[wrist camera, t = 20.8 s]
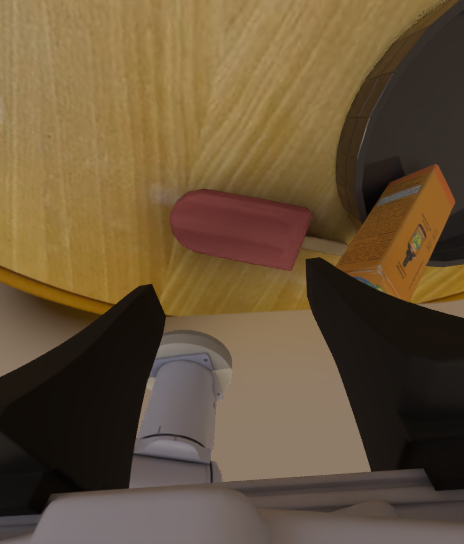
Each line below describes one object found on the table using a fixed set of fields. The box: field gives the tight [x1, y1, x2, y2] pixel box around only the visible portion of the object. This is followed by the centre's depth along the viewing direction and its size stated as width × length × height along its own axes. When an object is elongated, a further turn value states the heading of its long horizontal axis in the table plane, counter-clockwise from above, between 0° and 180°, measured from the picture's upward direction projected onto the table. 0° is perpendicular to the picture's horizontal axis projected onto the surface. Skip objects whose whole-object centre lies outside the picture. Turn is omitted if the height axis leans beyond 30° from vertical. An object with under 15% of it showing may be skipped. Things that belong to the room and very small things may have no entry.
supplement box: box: [336, 164, 455, 302], centre depth 16 cm, size 3×3×10 cm
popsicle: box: [170, 189, 348, 271], centre depth 20 cm, size 5×2×15 cm
